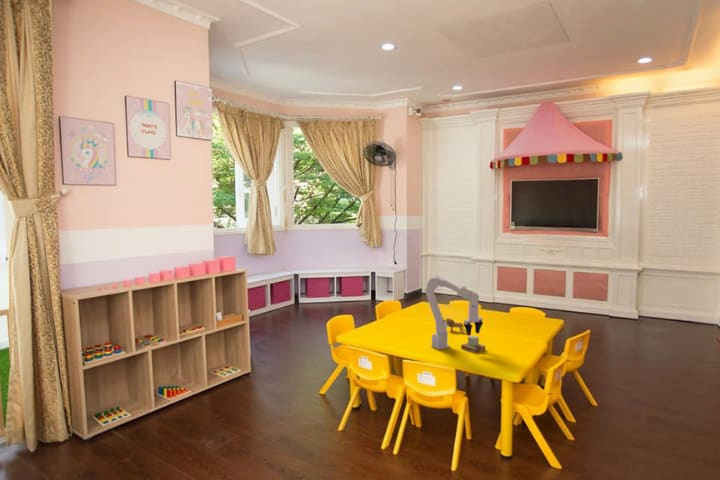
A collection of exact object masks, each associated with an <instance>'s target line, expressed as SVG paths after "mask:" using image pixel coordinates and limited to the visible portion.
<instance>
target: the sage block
mask: <svg viewBox="0 0 720 480" xmlns="http://www.w3.org/2000/svg"><path fill="white" fill-rule="evenodd" d="M479 338H480V337H479V336H475V335H470V336H467V343H468V345H470V346H473V347H475V346H478V345H479V344H480V340H479Z"/></svg>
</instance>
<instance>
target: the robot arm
mask: <svg viewBox="0 0 720 480" xmlns="http://www.w3.org/2000/svg"><path fill="white" fill-rule="evenodd" d="M438 287H439V288H442V287H445V288H446V289H450V290H452V291H454V292H456V294H457V296H460V297H461V298H463V299H465V300H468V301H469V303H468V318H467V319H465V320H464V321H463V326H464V329H465V331H466V332H465V333H466V335H467V336H468V337H470V336H472V328H473V326H474V328H475V329H474V330H475V334H480V331H481V328H482V326H483V324H484V322H483V321H484V320H483V318H484V317H479V300H480V299H479V298H480V297H479V294H478V293H477V292H476V291H473V290H472V289H471V290H470V289H468V288H466V286H458V285H456V284H453V283H452V282H450V281H448V280H447V279H444V278H443V277H439V276H437V275H432V277H431V278H430V279H429V280H428V281H427V284H426V288H425V296H426V298H427V301H428V304H429V307H430V309H431V312H432V315H433V318H434V323H435V333H434V334H432V336H431V345H430V347H433V348H434V349H438V350H445V349H447V348H450V347H451V345H448V333H449V332H448V330H447V328H448V325H447V322H446V319H445V318H444V317H443V314H442V312H441V309H440V307H439V304H438V301H437V298H436V295H435V290H436V289H438ZM473 323H474V325H473Z"/></svg>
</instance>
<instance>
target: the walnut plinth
mask: <svg viewBox="0 0 720 480" xmlns="http://www.w3.org/2000/svg"><path fill="white" fill-rule="evenodd" d="M460 346H461V348H460V349H462V350H464V351H466V352H469V353H472V354H476V353H479V352H483V351H486V346H485V345H483V344H481V343H479V345H478V346H475V347H473V346H470V345H468V342H467V343H463V344H461V345H460Z"/></svg>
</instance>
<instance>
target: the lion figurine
mask: <svg viewBox="0 0 720 480" xmlns="http://www.w3.org/2000/svg"><path fill="white" fill-rule="evenodd" d="M445 321H446V322H447V327H448V328H450V332H453V330H454V328H455V329H457V328H459V332H461V334H463V333H464V332H465V333H467V332H466V329H465V326H464V323H462V322H456V321H454V320H453V319H451V318H449V317H448V318H445Z"/></svg>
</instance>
